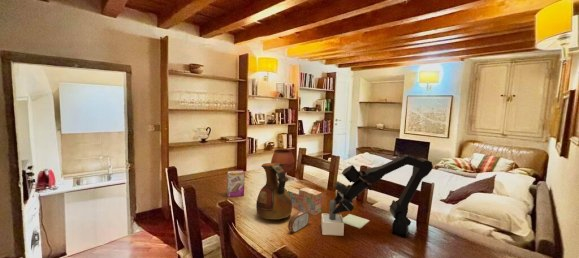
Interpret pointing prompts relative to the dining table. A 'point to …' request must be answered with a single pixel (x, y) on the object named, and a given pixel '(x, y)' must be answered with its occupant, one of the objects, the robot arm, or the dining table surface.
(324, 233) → the box
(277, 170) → the ceramic pitcher
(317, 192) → the stack of blocks
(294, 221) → the tin
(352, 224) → the mat
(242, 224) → the dining table surface
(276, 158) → the brown clay pot
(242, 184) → the candy bar box
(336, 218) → the lid
